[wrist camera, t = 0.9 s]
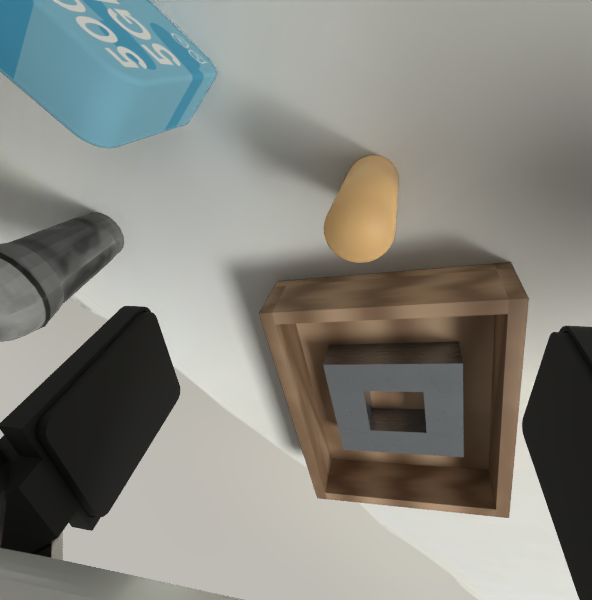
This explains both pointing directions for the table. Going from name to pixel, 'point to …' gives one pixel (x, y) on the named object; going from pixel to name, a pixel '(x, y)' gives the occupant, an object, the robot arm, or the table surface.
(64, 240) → the beverage cup
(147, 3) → the data package
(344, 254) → the peg
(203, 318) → the table surface
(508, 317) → the open box
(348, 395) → the bore plate
